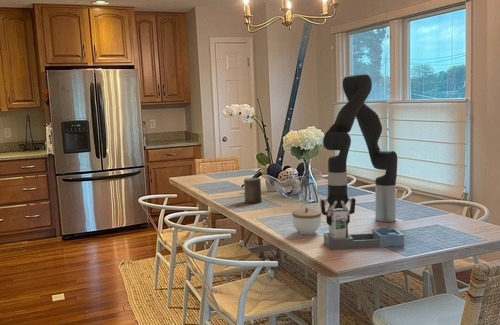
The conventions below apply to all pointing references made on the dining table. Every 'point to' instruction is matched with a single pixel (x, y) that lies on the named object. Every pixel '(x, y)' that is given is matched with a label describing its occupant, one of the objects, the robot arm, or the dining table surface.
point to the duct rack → (367, 239)
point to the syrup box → (338, 224)
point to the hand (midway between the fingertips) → (338, 224)
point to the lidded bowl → (306, 220)
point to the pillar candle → (252, 190)
